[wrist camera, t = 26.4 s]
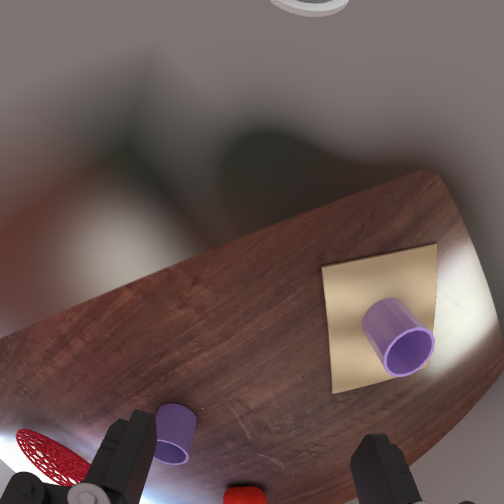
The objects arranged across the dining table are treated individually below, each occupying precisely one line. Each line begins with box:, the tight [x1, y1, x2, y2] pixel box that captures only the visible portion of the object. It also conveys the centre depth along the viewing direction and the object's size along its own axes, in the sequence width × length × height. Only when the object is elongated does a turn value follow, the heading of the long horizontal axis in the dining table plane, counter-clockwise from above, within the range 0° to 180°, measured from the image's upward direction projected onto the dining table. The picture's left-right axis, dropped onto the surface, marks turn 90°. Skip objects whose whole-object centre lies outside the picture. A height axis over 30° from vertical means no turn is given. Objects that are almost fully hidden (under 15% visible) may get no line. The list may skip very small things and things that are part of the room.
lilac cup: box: [153, 403, 197, 465], centre depth 38 cm, size 7×7×8 cm
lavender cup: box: [363, 298, 435, 377], centre depth 32 cm, size 7×7×8 cm
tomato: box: [223, 486, 267, 504], centre depth 44 cm, size 9×9×8 cm
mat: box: [321, 243, 437, 394], centre depth 36 cm, size 20×16×1 cm
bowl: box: [16, 429, 91, 486], centre depth 47 cm, size 29×30×5 cm
